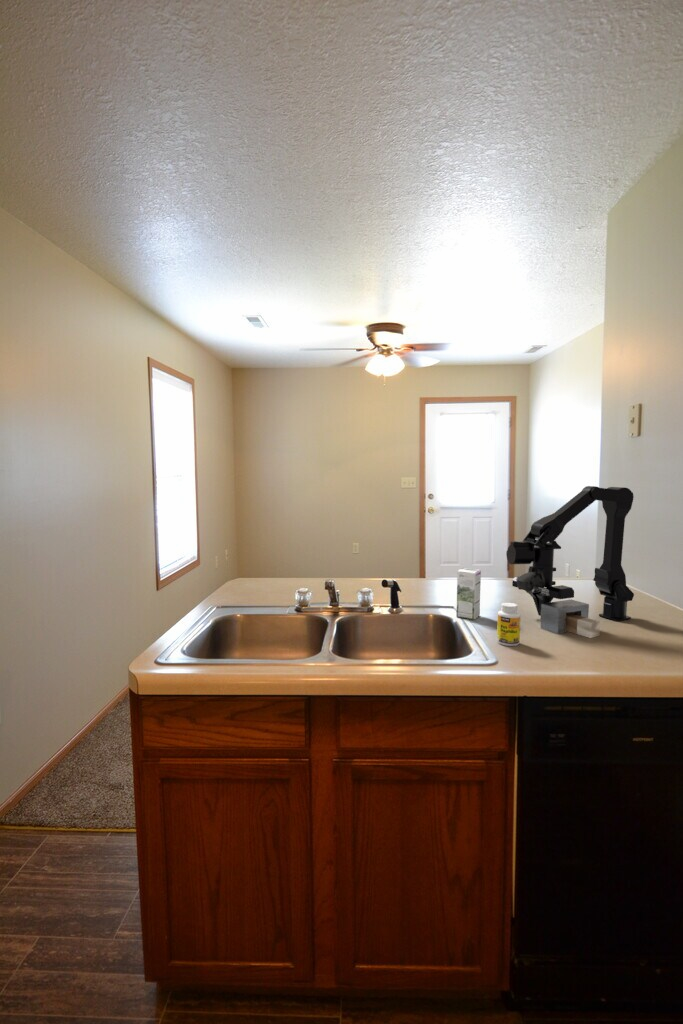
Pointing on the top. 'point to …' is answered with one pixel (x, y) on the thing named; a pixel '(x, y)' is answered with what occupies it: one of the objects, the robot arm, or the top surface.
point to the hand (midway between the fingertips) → (540, 615)
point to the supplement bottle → (508, 625)
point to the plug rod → (582, 625)
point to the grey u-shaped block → (561, 614)
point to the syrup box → (468, 593)
